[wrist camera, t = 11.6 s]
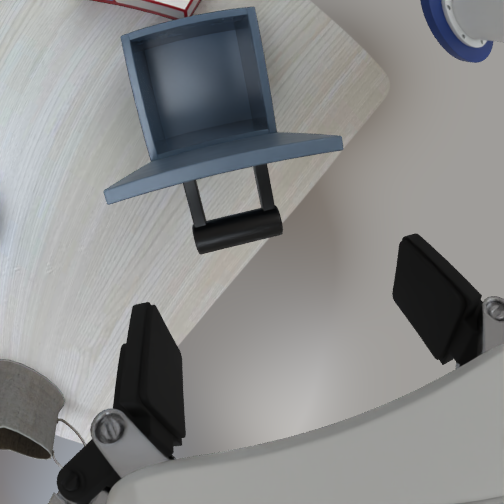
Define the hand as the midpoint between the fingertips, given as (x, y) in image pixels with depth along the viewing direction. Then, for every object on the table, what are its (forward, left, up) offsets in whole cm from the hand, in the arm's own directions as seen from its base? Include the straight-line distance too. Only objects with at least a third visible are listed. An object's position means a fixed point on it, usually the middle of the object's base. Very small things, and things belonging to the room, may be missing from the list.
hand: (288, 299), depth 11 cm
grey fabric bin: (+61, +46, -31) cm, 83 cm away
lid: (+1, -3, -14) cm, 14 cm away
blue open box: (+1, -8, -31) cm, 32 cm away
